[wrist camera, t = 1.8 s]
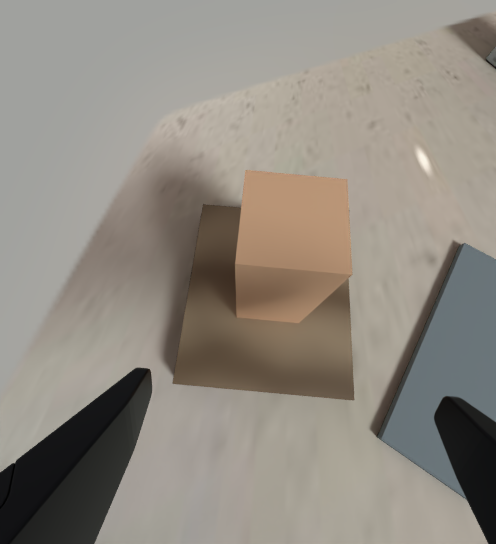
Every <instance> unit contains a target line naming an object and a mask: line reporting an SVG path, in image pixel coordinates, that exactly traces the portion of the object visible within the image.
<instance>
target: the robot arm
mask: <svg viewBox="0 0 496 544" xmlns="http://www.w3.org/2000/svg"><path fill="white" fill-rule="evenodd" d="M151 394H152V379H151V371H150V369H148V368H135V369H134V370H132V371H131V372H130V373H129V374H127V375H126V376H125V377H123V378H122V379H121V380H120V381H118V382H117V383H116V384H114V385H113V386H112V387H111V388H109V389H108V390H107V391H105V392H104V393H103V394H101V395H100V396H99V397H98V398H96V399H95V400H94V401H92V402H91V403H90V404H89V405H87V406H86V407H85V408H83V409H82V410H81V411H79V412H78V413H77V414H76V415H74V416H73V417H72V418H70V419H69V420H68V421H67V422H65V423H64V424H63V425H61V426H60V427H59V428H58V429H56V430H55V431H54V432H52V433H51V434H50V435H48V436H47V437H46V438H45V439H43V440H42V441H41V442H39V443H38V444H37V445H36V446H34V447H33V448H32V449H30V450H29V451H28V452H26V453H25V454H24V455H23V456H21V457H20V458H19V459H17V460H16V462H15V463H12V464H11V465H9V466H8V467H7V468H6V469H4V470H3V471H2V472H0V544H94V543H95V541H96V538H97V536H98V534H99V531H100V529H101V527H102V524H103V522H104V520H105V517H106V515H107V513H108V510H109V508H110V506H111V503H112V501H113V498H114V496H115V494H116V491H117V489H118V487H119V484H120V482H121V480H122V477H123V475H124V473H125V470H126V468H127V466H128V463H129V461H130V459H131V456H132V454H133V451H134V449H135V446H136V443H137V440H138V437H139V433H140V430H141V427H142V424H143V420H144V417H145V414H146V411H147V408H148V404H149V401H150V398H151ZM434 421H435V425H436V427H437V430H438V432H439V435H440V437H441V440H442V443H443V445H444V448H445V450H446V453H447V455H448V458H449V461H450V463H451V466H452V468H453V471H454V473H455V475H456V478H457V480H458V482H459V484H460V486H461V489H462V491H463V493H464V495H465V497H466V499H467V501H468V503H469V505H470V507H471V509H472V511H473V513H474V515H475V517H476V519H477V521H478V523H479V525H480V528H481V530H482V532H483V534H484V536H485V538H486V540H487V542H488V544H496V422H495V421H494V420H492V419H491V418H489V417H488V416H486V415H485V414H483V413H482V412H481V411H479V410H478V409H476V408H475V407H473V406H472V405H471V404H469V403H468V402H466V401H465V400H463V399H462V398H460V397H454V396H445V397H443V398H442V400H441V402H440V404H439V406H438V408H437V409H436V411H435V414H434Z"/></svg>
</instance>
